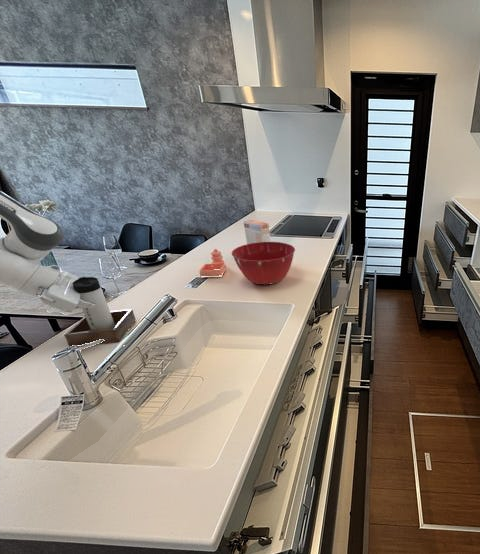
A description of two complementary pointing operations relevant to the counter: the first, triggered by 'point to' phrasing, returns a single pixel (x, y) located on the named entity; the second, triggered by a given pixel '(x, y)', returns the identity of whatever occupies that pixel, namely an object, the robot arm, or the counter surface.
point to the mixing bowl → (264, 261)
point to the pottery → (213, 265)
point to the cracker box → (256, 231)
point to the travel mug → (93, 293)
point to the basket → (84, 334)
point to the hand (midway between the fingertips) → (95, 302)
